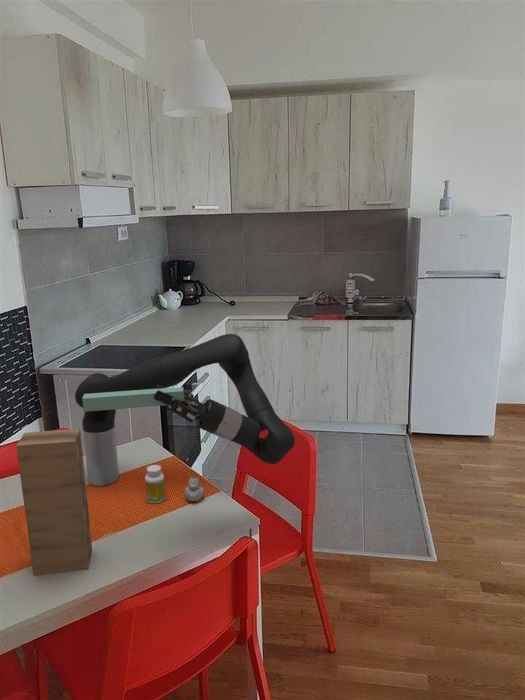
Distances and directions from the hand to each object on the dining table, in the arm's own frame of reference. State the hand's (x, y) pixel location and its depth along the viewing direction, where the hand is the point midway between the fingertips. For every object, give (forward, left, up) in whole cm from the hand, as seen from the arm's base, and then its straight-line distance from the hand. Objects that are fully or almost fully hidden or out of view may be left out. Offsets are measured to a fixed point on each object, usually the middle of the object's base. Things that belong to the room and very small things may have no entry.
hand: (155, 391), depth 125 cm
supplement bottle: (-18, -2, -39) cm, 43 cm away
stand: (+7, -23, -39) cm, 46 cm away
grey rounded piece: (-16, +9, -39) cm, 43 cm away
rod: (0, -5, -3) cm, 6 cm away
